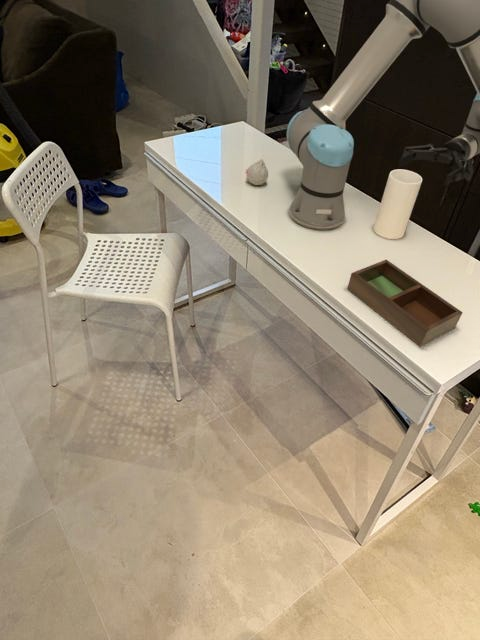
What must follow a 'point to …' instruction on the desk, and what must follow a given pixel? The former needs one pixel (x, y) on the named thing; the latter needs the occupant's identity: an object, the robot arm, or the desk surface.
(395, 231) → the cup
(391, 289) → the holder
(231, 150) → the desk surface
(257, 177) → the garlic bulb
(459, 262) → the desk surface
